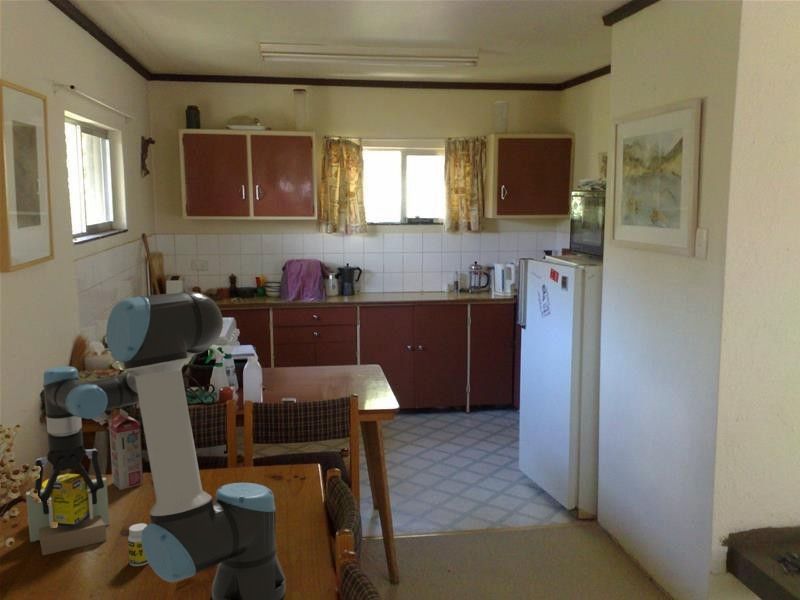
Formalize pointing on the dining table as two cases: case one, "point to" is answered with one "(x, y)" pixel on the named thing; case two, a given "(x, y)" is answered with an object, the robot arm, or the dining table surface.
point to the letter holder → (64, 535)
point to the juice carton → (125, 451)
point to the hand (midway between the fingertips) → (71, 521)
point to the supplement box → (70, 500)
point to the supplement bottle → (136, 545)
